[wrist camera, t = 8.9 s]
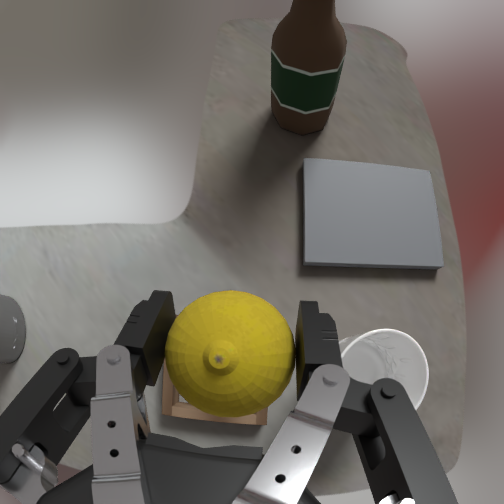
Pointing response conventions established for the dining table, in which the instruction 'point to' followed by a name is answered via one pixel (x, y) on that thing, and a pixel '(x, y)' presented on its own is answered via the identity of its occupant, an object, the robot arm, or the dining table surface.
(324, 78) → the beer bottle
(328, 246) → the gray board
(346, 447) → the dining table surface
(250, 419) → the walnut collar
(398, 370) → the white cup
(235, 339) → the lemon
